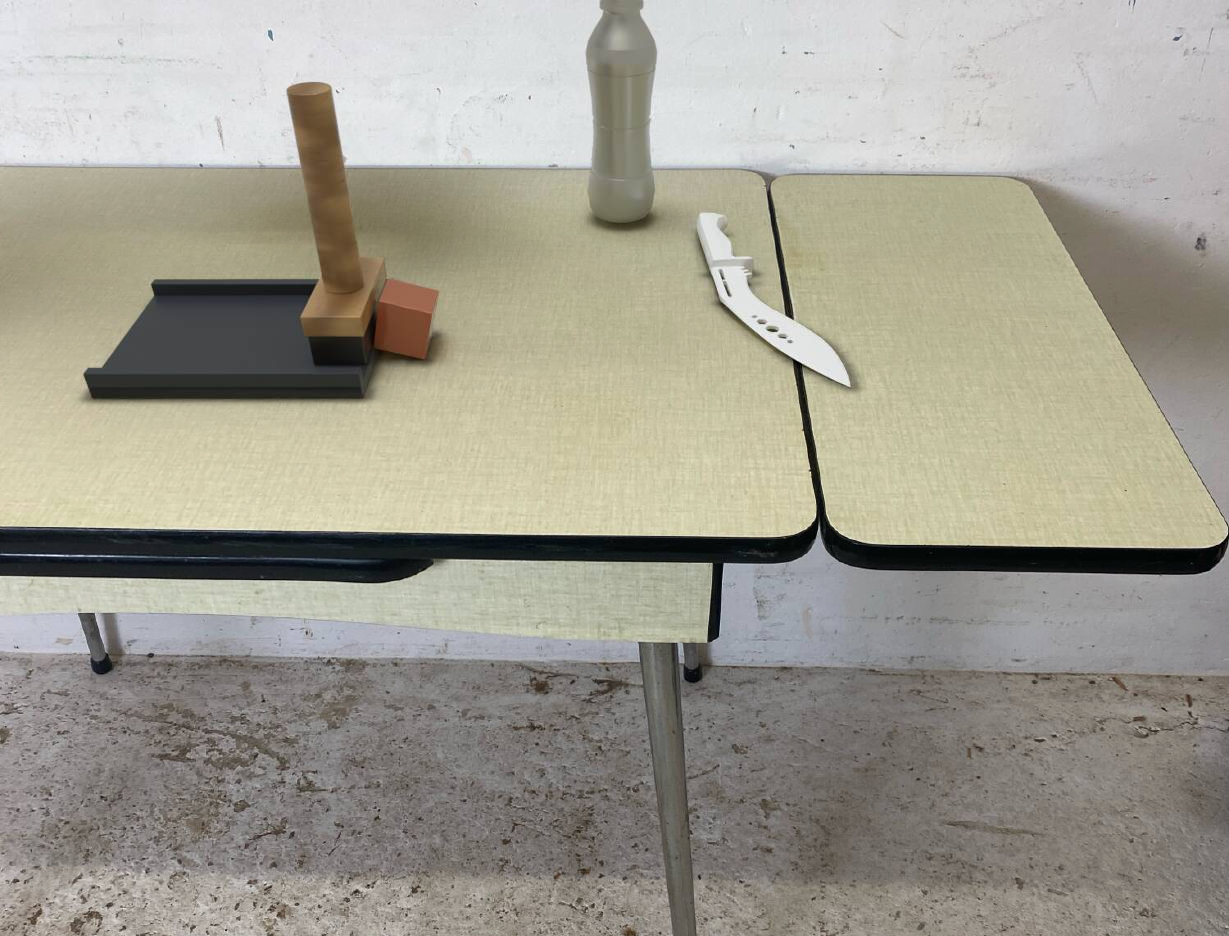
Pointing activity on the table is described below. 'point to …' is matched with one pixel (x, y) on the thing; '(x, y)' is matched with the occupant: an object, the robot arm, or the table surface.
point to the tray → (224, 345)
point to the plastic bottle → (621, 112)
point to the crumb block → (405, 318)
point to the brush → (333, 237)
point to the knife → (753, 311)
